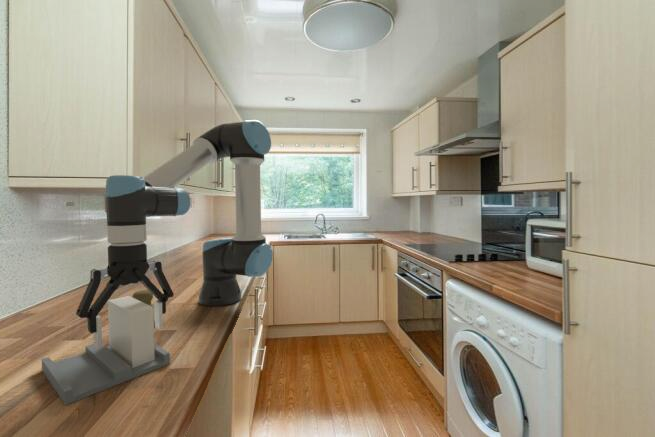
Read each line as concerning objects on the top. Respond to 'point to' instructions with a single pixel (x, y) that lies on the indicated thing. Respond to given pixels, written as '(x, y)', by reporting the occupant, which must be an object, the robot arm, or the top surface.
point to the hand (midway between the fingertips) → (130, 336)
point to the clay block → (131, 330)
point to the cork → (144, 297)
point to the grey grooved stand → (95, 371)
